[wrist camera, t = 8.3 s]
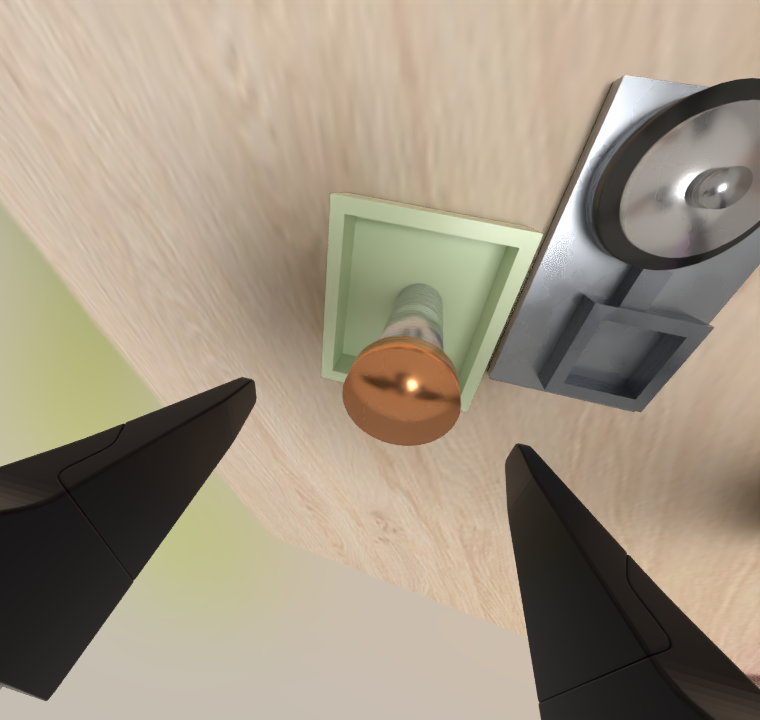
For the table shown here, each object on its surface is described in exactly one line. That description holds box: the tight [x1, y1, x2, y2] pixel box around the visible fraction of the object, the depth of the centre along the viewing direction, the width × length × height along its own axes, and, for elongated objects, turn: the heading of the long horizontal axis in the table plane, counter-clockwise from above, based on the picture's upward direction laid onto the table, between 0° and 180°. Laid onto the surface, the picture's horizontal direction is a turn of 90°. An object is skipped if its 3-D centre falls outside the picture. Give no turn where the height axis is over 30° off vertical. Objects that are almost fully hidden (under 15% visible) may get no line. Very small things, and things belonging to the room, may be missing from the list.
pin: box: [343, 283, 461, 446], centre depth 15 cm, size 4×4×10 cm
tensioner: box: [488, 75, 760, 412], centre depth 15 cm, size 16×10×4 cm, turn 171°
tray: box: [321, 193, 543, 412], centre depth 18 cm, size 12×11×3 cm
